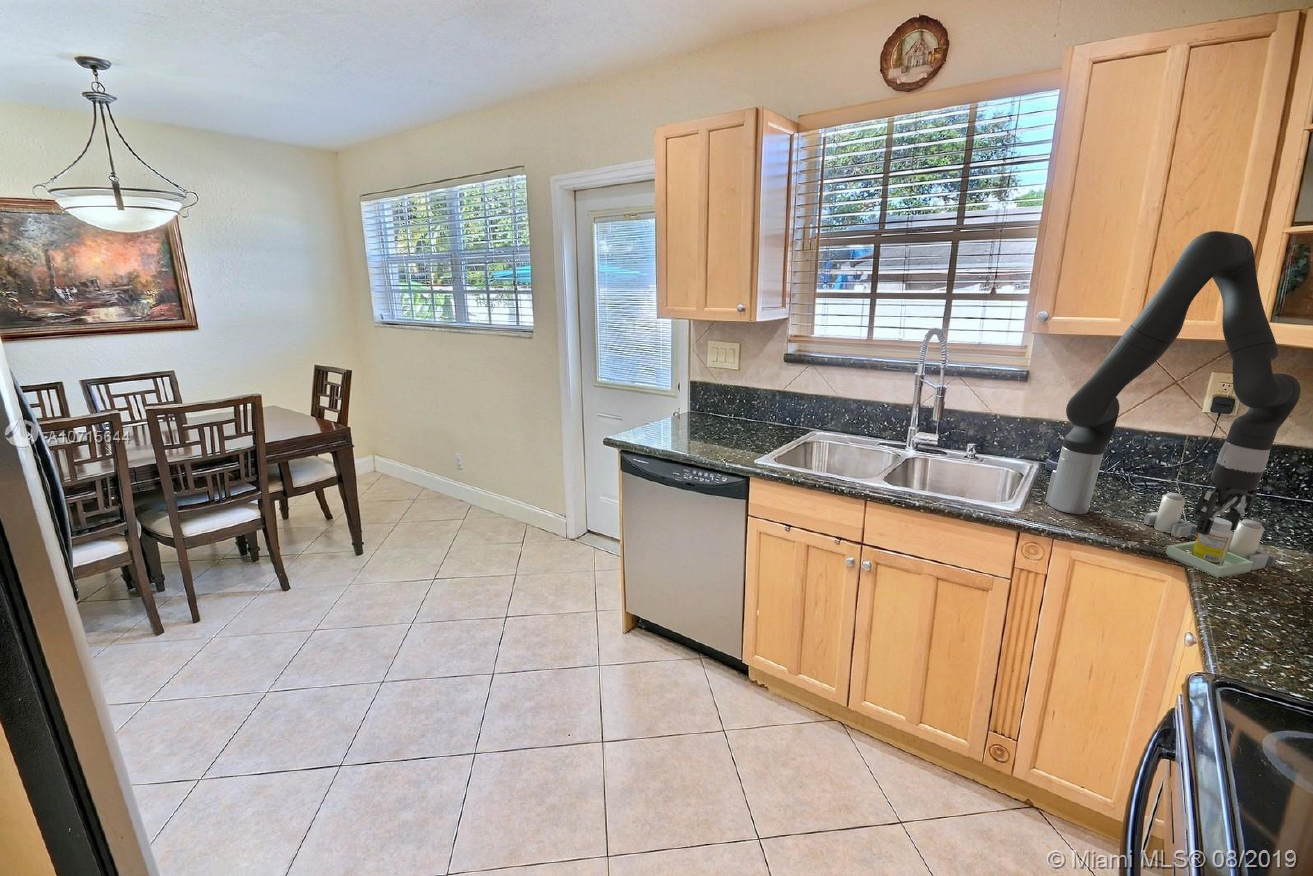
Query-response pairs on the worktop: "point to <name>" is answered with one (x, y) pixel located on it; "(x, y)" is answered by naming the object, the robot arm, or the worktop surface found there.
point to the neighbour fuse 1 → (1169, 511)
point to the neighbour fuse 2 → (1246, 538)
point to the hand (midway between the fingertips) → (1215, 531)
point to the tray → (1228, 568)
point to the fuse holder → (1186, 528)
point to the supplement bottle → (1214, 542)
